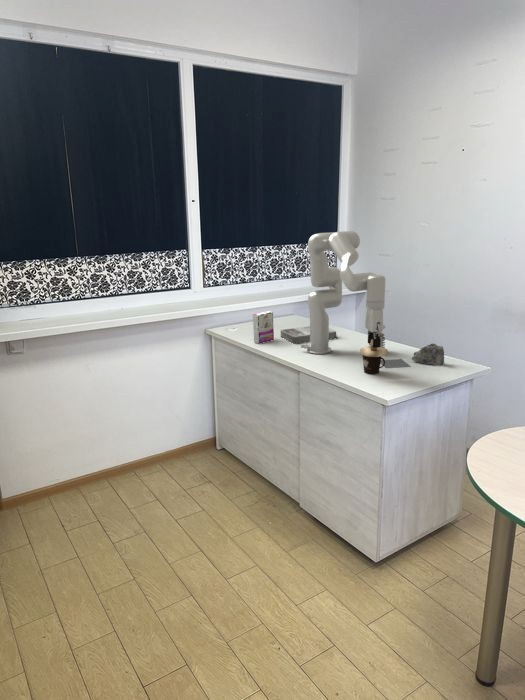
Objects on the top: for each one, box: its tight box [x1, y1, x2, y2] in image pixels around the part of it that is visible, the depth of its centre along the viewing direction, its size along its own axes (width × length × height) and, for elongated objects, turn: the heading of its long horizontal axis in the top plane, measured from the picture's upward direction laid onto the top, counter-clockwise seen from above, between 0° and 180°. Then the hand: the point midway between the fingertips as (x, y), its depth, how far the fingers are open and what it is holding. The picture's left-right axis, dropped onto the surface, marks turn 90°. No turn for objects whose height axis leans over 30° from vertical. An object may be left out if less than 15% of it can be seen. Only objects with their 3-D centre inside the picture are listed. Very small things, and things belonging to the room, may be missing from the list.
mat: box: [380, 358, 412, 369], centre depth 235 cm, size 12×12×1 cm
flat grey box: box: [280, 325, 338, 345], centre depth 287 cm, size 18×27×4 cm
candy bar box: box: [252, 310, 275, 344], centre depth 279 cm, size 11×5×16 cm, turn 131°
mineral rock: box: [411, 342, 445, 366], centre depth 234 cm, size 13×11×10 cm
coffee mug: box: [362, 355, 386, 375], centre depth 221 cm, size 12×9×10 cm
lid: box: [359, 340, 389, 358], centre depth 218 cm, size 12×12×6 cm
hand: (373, 344), depth 218 cm, fingers open, 6 cm apart
